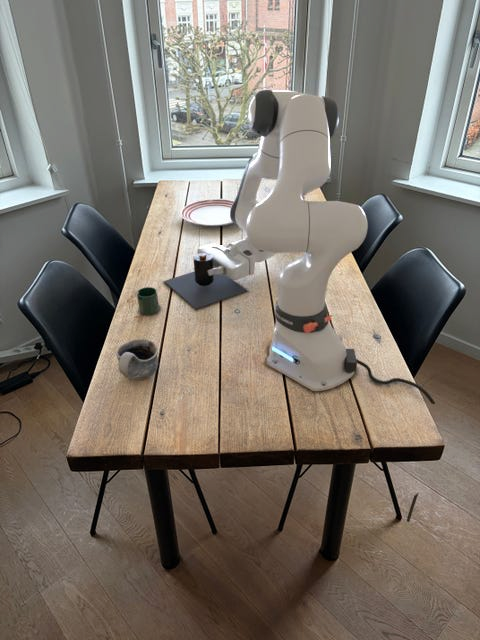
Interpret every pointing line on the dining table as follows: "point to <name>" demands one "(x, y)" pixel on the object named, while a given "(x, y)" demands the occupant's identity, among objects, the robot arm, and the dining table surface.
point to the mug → (138, 359)
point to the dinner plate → (208, 212)
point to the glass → (148, 301)
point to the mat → (204, 289)
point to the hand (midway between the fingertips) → (201, 268)
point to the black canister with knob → (203, 268)
